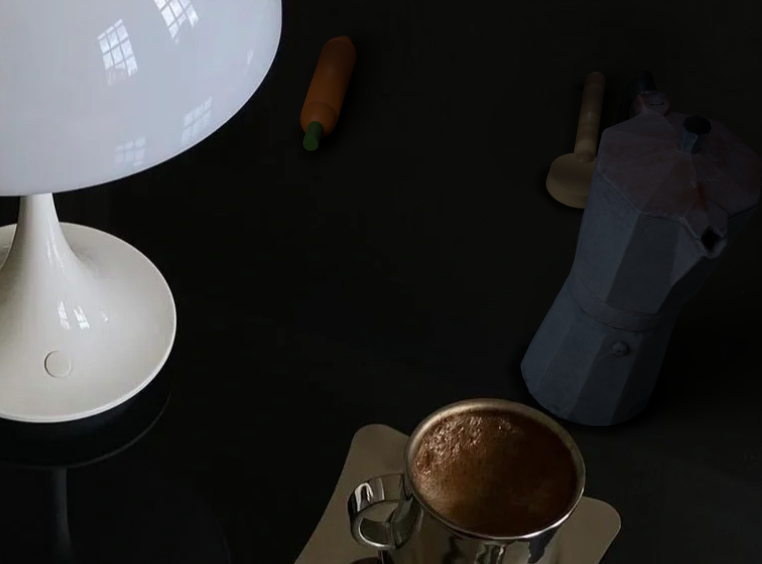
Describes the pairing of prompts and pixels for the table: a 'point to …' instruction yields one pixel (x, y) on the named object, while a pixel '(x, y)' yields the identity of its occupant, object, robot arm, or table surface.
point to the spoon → (580, 149)
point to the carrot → (327, 90)
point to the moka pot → (639, 255)
